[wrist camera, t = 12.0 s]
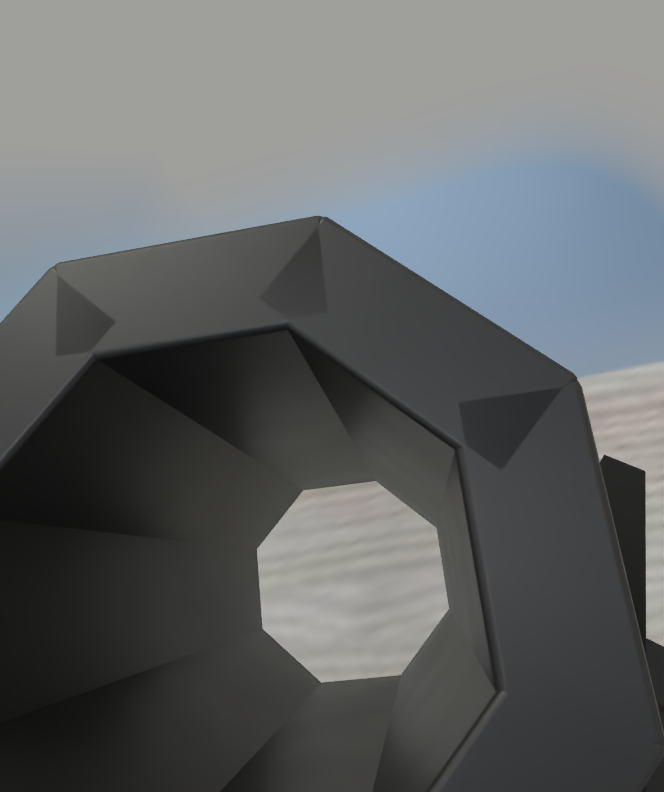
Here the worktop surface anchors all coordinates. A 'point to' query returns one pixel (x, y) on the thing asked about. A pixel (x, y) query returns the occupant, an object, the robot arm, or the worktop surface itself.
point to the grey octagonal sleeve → (266, 504)
